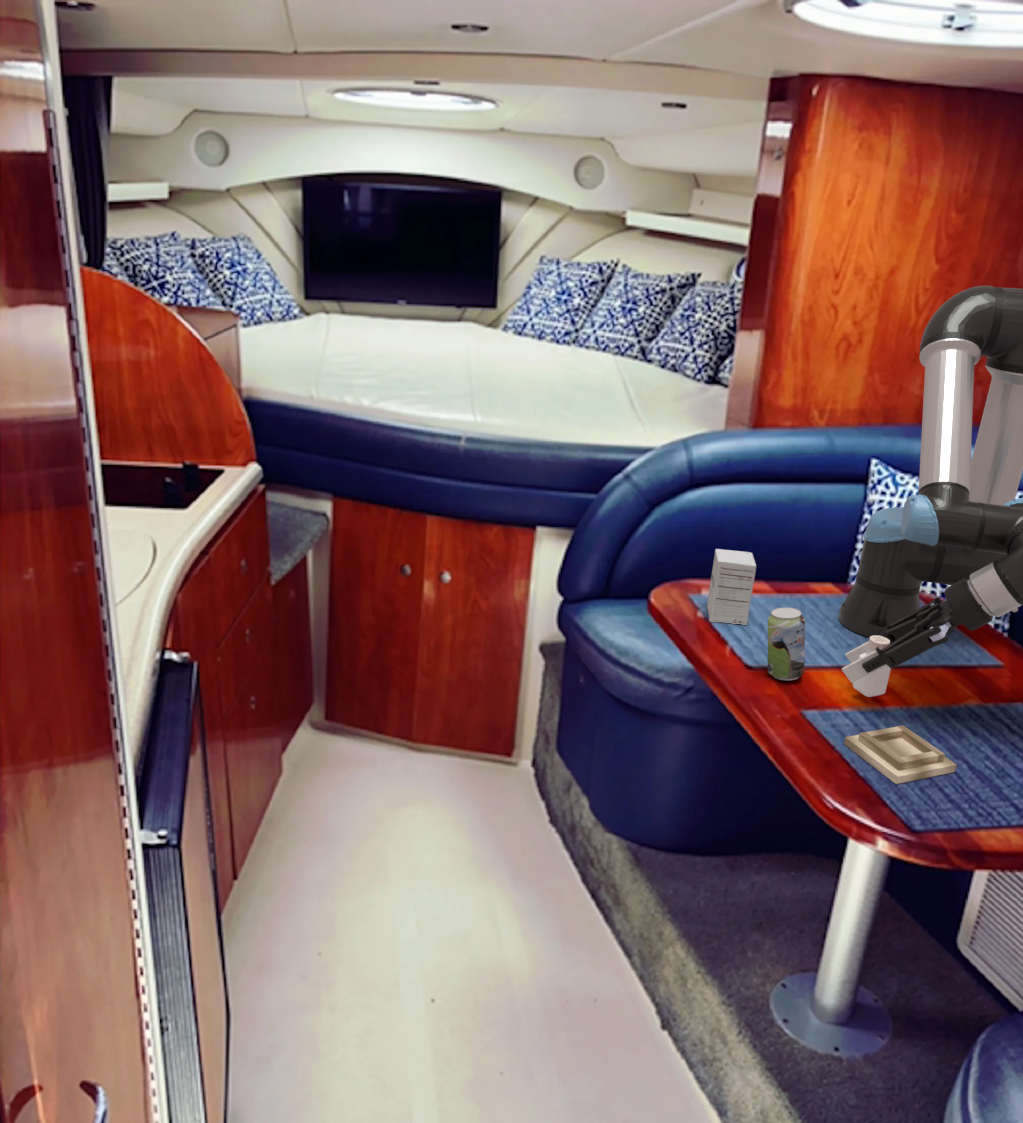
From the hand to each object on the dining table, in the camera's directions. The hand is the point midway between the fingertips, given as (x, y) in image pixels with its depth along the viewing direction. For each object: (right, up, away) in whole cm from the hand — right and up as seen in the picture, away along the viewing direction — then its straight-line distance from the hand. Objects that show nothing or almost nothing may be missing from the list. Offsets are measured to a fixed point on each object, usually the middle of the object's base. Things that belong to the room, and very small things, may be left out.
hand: (848, 668), depth 159 cm
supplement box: (-14, +7, +29) cm, 33 cm away
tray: (+2, -11, -16) cm, 20 cm away
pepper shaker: (+3, -4, 0) cm, 5 cm away
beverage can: (-9, -2, +7) cm, 12 cm away
